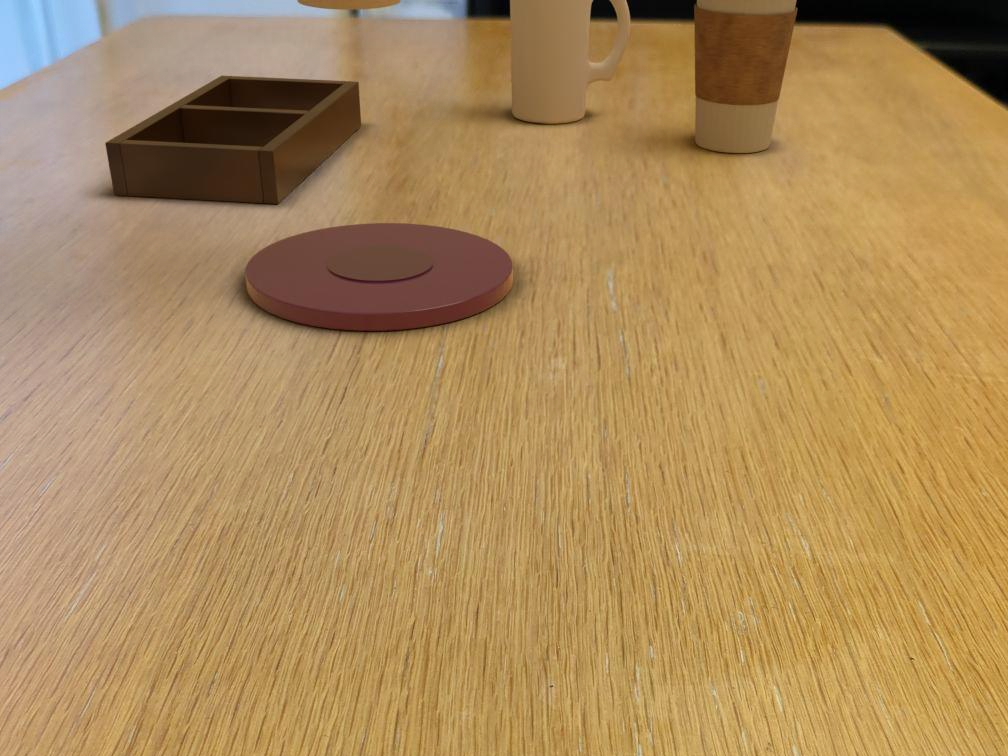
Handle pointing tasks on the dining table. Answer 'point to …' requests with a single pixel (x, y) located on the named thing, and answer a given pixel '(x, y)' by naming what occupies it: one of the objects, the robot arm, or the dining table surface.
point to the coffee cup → (739, 71)
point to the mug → (557, 57)
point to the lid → (379, 276)
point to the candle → (348, 4)
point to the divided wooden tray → (235, 140)
